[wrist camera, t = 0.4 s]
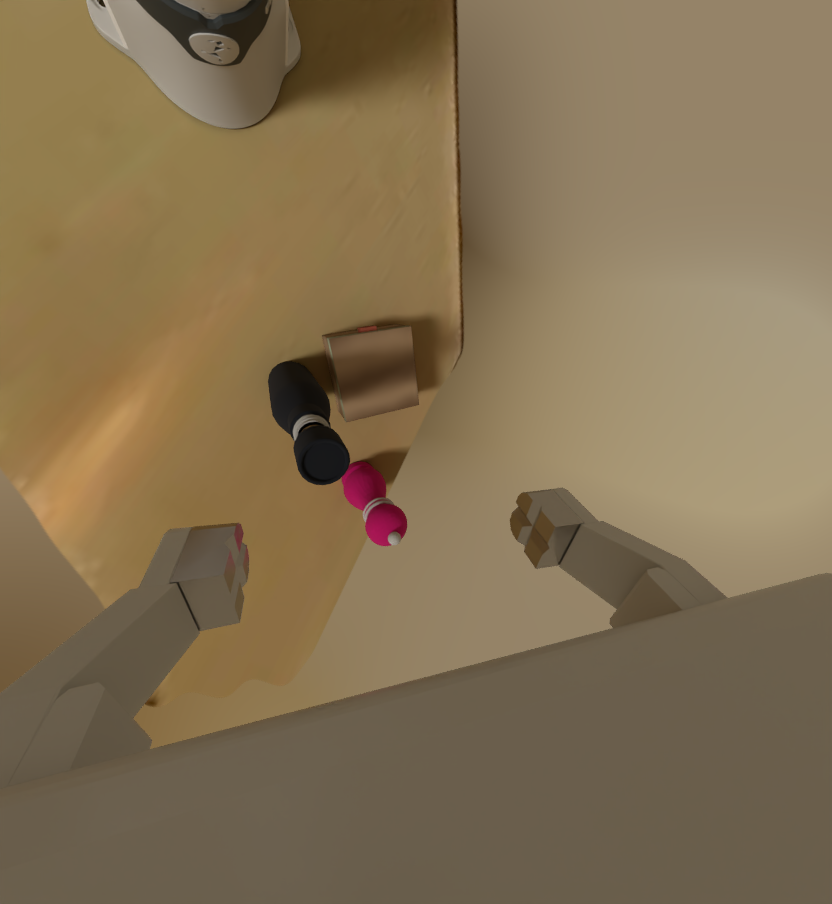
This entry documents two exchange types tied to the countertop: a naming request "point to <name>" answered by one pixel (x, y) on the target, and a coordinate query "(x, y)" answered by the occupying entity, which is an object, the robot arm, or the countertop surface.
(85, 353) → the countertop surface
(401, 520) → the pepper mill
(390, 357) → the wooden box
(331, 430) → the black bottle
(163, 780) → the robot arm
